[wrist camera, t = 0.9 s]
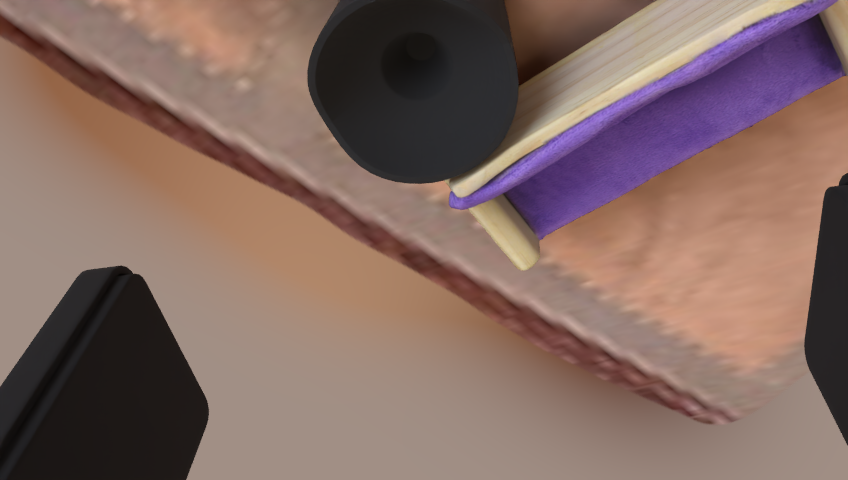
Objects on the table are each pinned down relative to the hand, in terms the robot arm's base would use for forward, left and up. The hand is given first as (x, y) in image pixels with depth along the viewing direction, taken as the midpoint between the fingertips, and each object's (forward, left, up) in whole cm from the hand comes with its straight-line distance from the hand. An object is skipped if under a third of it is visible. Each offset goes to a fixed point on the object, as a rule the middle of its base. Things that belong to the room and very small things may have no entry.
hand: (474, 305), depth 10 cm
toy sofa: (+8, +11, -33) cm, 35 cm away
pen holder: (+8, -1, -33) cm, 34 cm away
